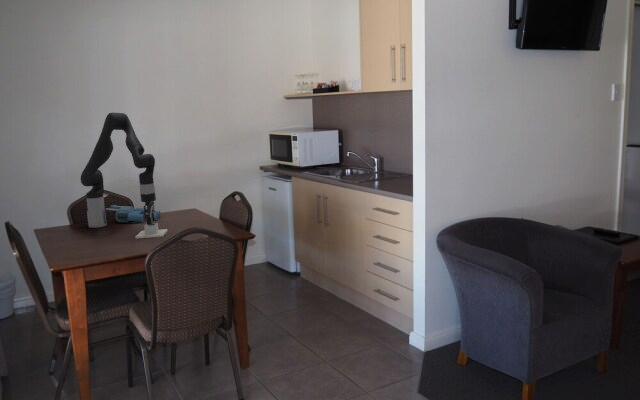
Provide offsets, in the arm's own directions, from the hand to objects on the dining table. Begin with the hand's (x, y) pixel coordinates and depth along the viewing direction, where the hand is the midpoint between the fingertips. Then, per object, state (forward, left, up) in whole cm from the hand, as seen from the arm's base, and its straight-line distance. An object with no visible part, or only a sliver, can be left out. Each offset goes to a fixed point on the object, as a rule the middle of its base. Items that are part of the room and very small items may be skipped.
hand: (150, 222), depth 300 cm
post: (0, 0, -6) cm, 6 cm away
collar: (0, 0, -5) cm, 5 cm away
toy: (-20, +46, -7) cm, 50 cm away
